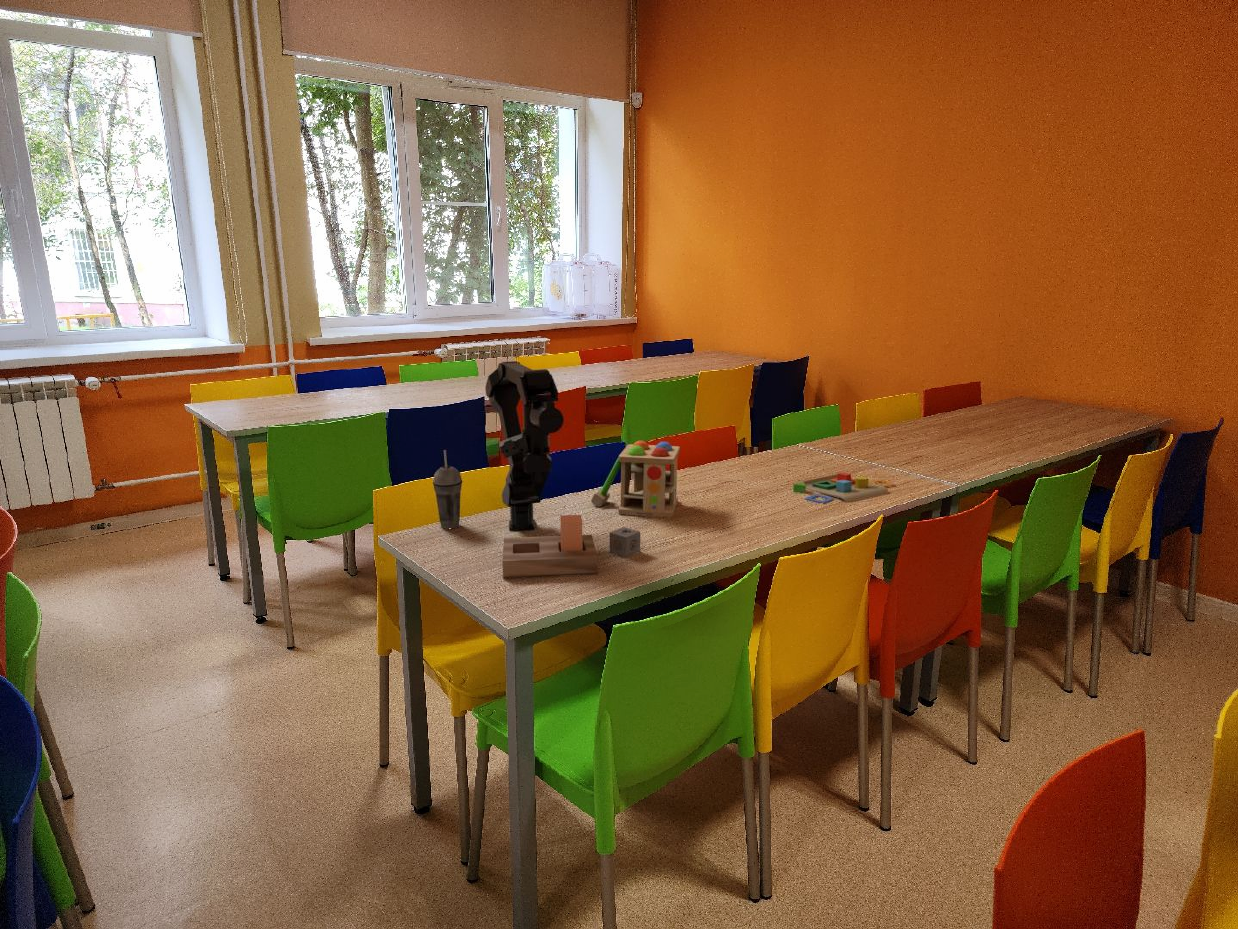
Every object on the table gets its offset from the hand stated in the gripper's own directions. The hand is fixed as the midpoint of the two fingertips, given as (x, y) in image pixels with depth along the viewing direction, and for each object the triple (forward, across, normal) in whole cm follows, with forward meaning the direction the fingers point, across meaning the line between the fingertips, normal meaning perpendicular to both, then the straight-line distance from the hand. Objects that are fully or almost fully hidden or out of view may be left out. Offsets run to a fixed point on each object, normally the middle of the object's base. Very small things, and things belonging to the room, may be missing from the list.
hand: (537, 490), depth 186 cm
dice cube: (+13, +8, +20) cm, 25 cm away
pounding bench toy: (+13, -24, +26) cm, 38 cm away
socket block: (+13, +14, +2) cm, 19 cm away
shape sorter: (+14, -34, +89) cm, 96 cm away
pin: (+12, +14, +7) cm, 20 cm away
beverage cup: (+13, -14, -22) cm, 29 cm away
